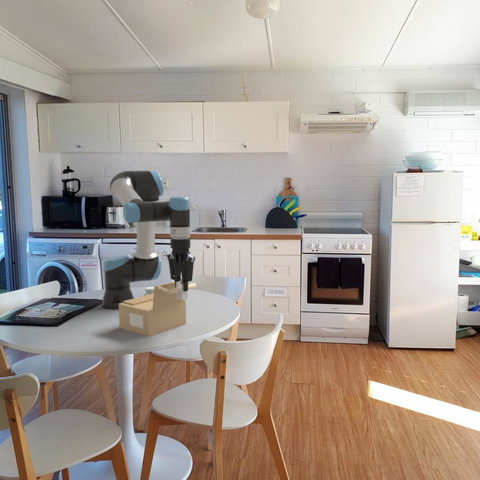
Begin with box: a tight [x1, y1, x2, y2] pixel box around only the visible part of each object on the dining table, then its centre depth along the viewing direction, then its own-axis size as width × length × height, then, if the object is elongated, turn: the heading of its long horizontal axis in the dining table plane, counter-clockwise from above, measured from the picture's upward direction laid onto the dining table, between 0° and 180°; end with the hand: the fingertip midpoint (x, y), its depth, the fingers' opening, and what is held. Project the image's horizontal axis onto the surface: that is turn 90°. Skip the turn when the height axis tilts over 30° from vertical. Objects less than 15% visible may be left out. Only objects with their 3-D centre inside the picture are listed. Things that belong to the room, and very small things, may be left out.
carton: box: [118, 294, 187, 337], centre depth 189 cm, size 18×20×11 cm
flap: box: [153, 280, 197, 310], centre depth 179 cm, size 10×16×8 cm
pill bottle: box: [143, 286, 154, 296], centre depth 207 cm, size 6×6×12 cm
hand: (181, 298), depth 177 cm, fingers closed on flap, 2 cm apart
